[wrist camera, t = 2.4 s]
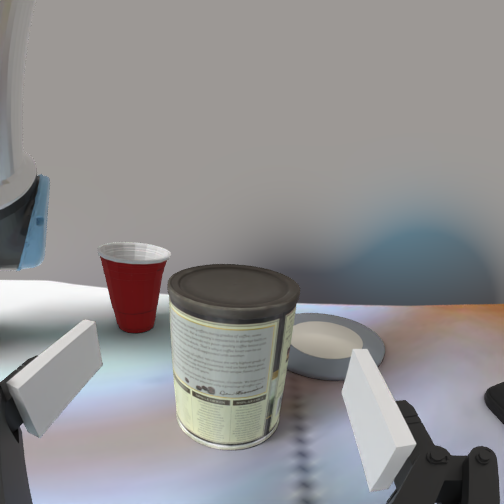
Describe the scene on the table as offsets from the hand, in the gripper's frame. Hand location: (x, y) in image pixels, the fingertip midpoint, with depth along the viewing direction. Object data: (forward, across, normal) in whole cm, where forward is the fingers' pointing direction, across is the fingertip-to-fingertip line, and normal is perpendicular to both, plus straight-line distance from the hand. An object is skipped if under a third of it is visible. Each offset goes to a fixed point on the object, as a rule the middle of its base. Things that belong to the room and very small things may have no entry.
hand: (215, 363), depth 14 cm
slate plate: (+26, +12, -13) cm, 32 cm away
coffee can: (+10, 0, -13) cm, 17 cm away
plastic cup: (+26, -16, -13) cm, 34 cm away
